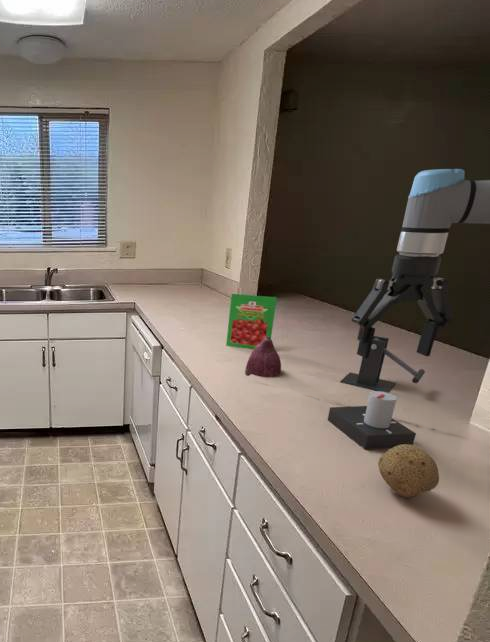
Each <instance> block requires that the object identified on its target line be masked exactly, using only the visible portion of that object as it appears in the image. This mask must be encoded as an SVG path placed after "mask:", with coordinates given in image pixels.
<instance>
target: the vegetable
mask: <svg viewBox="0 0 490 642" xmlns="http://www.w3.org/2000/svg"><path fill="white" fill-rule="evenodd" d="M281 373H282V362H281V358H280V355H279V354H278V351H277V350H276V348H275V345H274V342H273V340H272V337H271V338H270V337H268V336H267V337H266V338H265V339H264V340H263V341H262V342H261V343H259V344H258V345H257V346H256V347H255V348H254V349H252V351H251V353H250V355H249V357H248V360H247V363H246V365H245V371H244V374H245V375H246V376H247V377H249V376H251V375H253V376H256V377H261V378H274V377H275V378H276V377H278V376H280V375H281Z"/></svg>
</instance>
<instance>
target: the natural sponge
mask: <svg viewBox="0 0 490 642" xmlns="http://www.w3.org/2000/svg"><path fill="white" fill-rule="evenodd" d="M377 465H378V471H379V474H380V476H381V477H382V480H383V481H384V482H385V483H386V485H387V486H389V488H390V489H391V490H392V491H393V492H394V493H395V494H397V495H398V496H401V497H404V498H411V497H416V496H418V495H421V494H423V493H427V492H430V491H432V490H434V489H435V488H436V487H437V486H438V485H439V482H440V473H439V468H438V464H437V463H436V461H435V460H434V458H433V457H432V456H431V455H430V454H429V453H427V451H425V450H424V449H423V448H422V447H420V446H418V445H415V444H413V445H409V444H402V445H398V446H395V447H393V448H389V449H388V450H387V451H386V452H384V454H382V455H381V456H380V457H379V459H378V461H377Z"/></svg>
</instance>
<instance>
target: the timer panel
mask: <svg viewBox="0 0 490 642" xmlns="http://www.w3.org/2000/svg"><path fill="white" fill-rule="evenodd" d="M366 409H367V405H356V406H336V407H335V406H331V407H329V411H328V415H327V421H328V422H330V424H332V425H333V426H334V427H336V428H337V429H338V430H339V431H341V432H342V433H343V434H344V435H346V436H347V437H348V438H349V439H351V440H352V441H354V443H355V444H357V445H359V447H361V446H362V447H363V448H362V447H361V448H362V449H363V450H381V449H382V450H384V449H391V448H393V447H395V446H398V445H402V444H409V445H414V442H415V439H416V435H417V433H416V432H415V431H413V430H411V428H408V426H405V425H404V424H402V423H401V422H399V421H397V420H396V419H394V418H393V417H392V419H391V423H390V426H389V428H385V429H381V428H375V427H372V426H369V425H367V424H366V423H365V422H364V417H365V413H366Z"/></svg>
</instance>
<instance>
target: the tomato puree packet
mask: <svg viewBox="0 0 490 642" xmlns="http://www.w3.org/2000/svg"><path fill="white" fill-rule="evenodd" d="M277 299H278V297H276V296H264V295H253V294H252V295H251V294H239V293H231V297H230V306H229V315H228V323H227V324H228V325H227V335H226V344H225V346H227V347H232V348H240V349H247V350H254V348H255V347H256V346H257V345H258V344H259V343H261V342H262V341H263V340H264V339H265V338H266V337H267V336H268V337H270V338H271V339H272V333H273V332H272V331H273V327H274V318H275V313H276V304H277Z"/></svg>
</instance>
